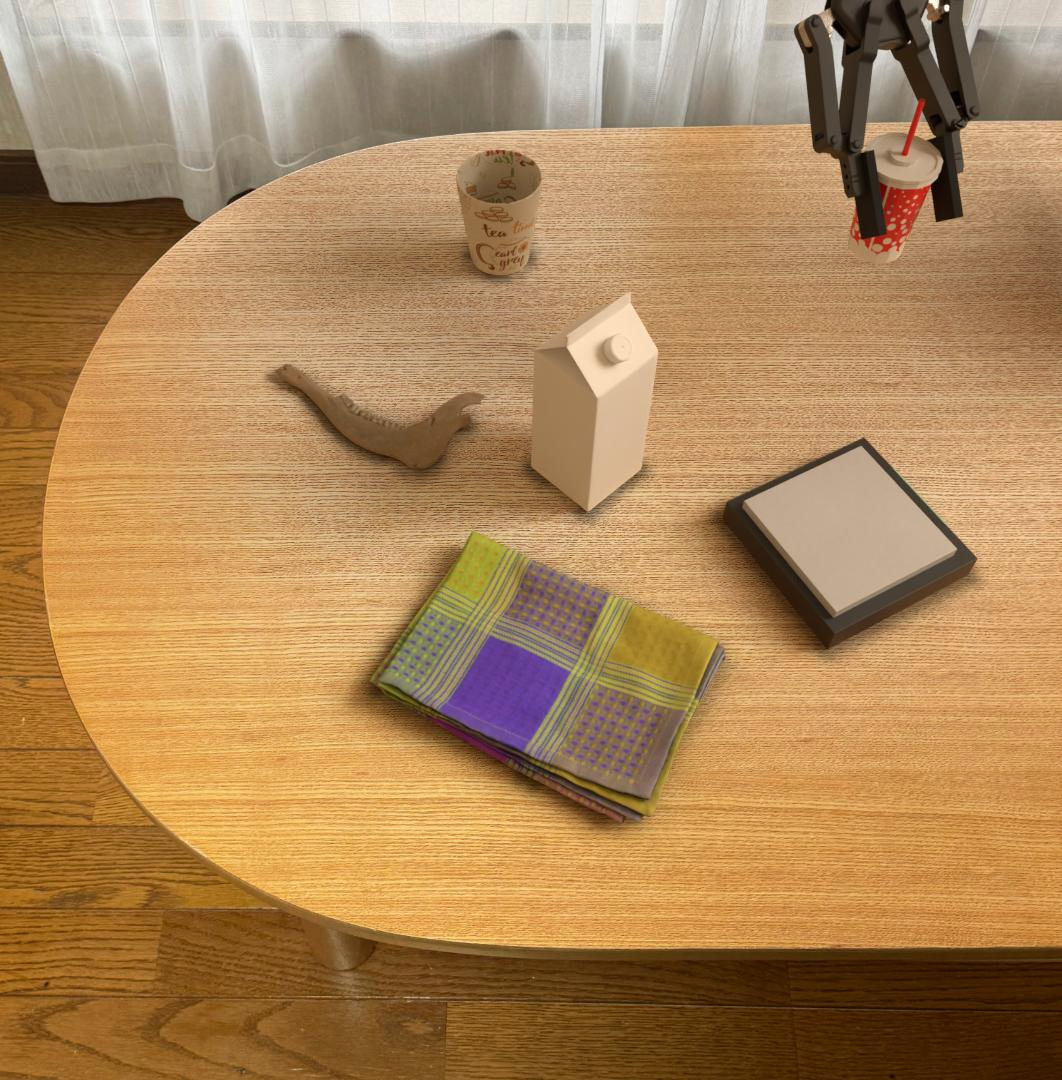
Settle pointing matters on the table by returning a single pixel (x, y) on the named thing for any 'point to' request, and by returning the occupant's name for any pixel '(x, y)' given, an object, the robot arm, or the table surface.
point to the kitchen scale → (847, 541)
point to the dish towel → (553, 677)
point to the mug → (499, 208)
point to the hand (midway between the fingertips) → (912, 227)
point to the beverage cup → (898, 190)
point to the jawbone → (389, 423)
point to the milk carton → (593, 402)
